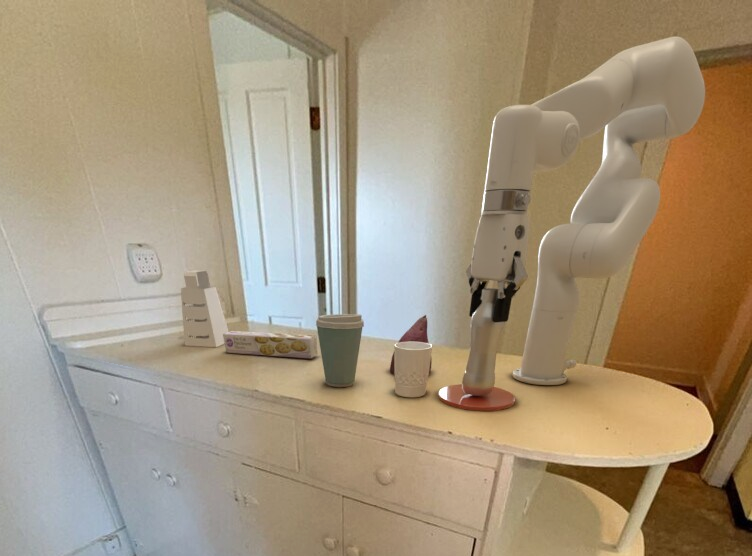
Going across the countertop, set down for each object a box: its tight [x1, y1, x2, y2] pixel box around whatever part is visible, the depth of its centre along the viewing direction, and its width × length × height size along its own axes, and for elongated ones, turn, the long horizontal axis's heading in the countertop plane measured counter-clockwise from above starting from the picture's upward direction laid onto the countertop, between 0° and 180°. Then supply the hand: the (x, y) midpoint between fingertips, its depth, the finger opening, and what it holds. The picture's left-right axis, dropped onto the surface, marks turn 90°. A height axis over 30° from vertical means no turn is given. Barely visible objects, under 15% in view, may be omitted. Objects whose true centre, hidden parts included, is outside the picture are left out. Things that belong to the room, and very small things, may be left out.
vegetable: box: [389, 314, 433, 375], centre depth 106 cm, size 10×10×15 cm
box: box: [223, 330, 319, 360], centre depth 121 cm, size 27×5×6 cm, turn 73°
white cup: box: [393, 342, 433, 398], centre depth 91 cm, size 8×8×10 cm
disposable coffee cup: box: [315, 313, 365, 388], centre depth 95 cm, size 11×11×15 cm
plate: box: [437, 383, 516, 412], centre depth 91 cm, size 16×16×1 cm
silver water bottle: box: [461, 287, 506, 396], centre depth 85 cm, size 6×7×20 cm
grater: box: [180, 270, 230, 348], centre depth 130 cm, size 10×10×20 cm
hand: (487, 318), depth 82 cm, fingers closed on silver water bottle, 6 cm apart
